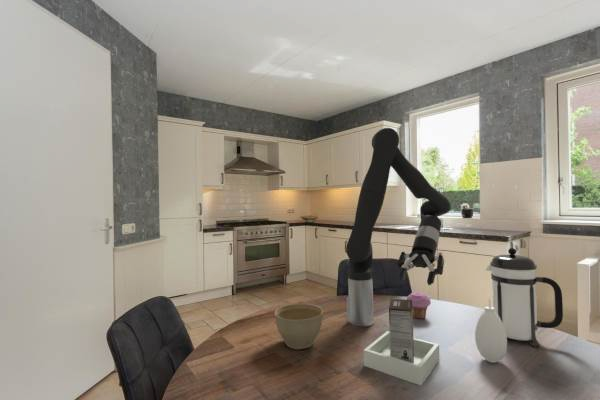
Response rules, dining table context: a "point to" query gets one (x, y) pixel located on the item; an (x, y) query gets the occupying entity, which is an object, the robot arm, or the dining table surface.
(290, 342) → the planter bowl
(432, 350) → the tub
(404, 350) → the coffee box
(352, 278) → the robot arm
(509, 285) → the coffee press
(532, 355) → the dining table surface
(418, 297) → the cupcake
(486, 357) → the sauce bottle
